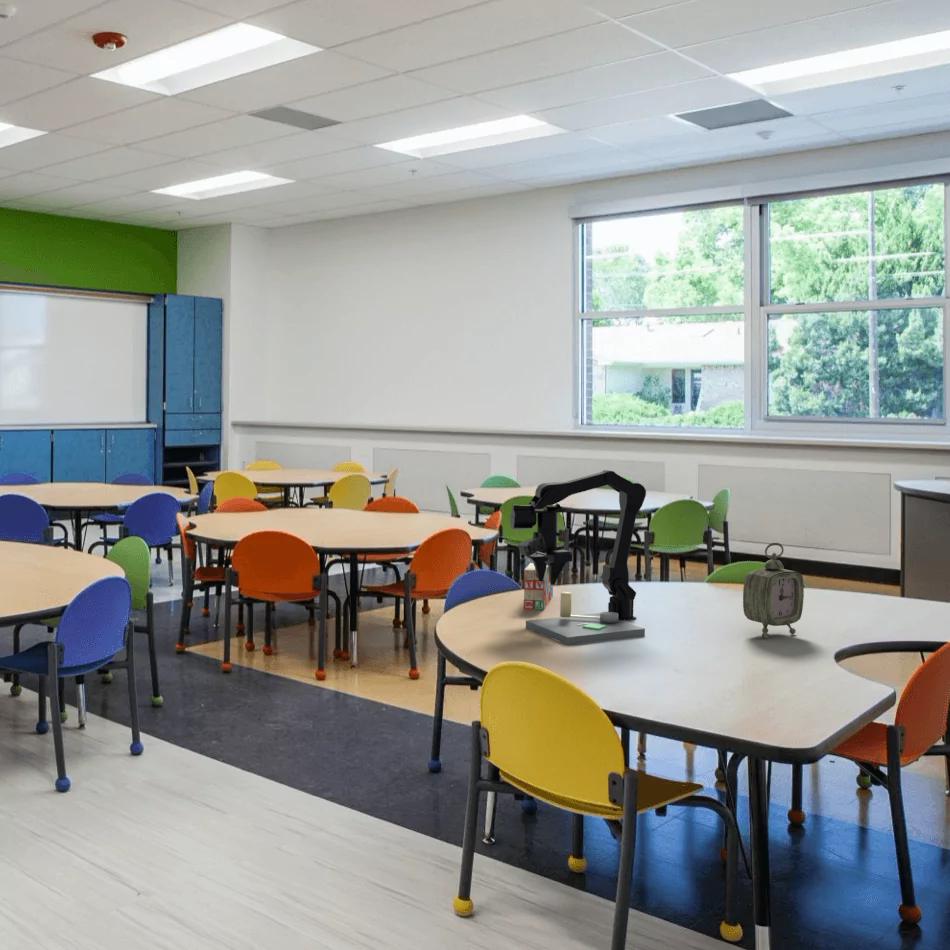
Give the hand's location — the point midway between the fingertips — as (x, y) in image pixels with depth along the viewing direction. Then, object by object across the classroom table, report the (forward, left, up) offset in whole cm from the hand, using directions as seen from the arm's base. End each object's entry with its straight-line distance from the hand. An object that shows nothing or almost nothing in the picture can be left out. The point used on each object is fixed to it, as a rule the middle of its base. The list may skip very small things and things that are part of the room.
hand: (546, 582), depth 289 cm
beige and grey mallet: (-6, +12, -9) cm, 16 cm away
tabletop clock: (-47, +40, -11) cm, 62 cm away
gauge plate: (-3, +16, -11) cm, 19 cm away
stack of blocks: (-12, -24, -11) cm, 29 cm away
